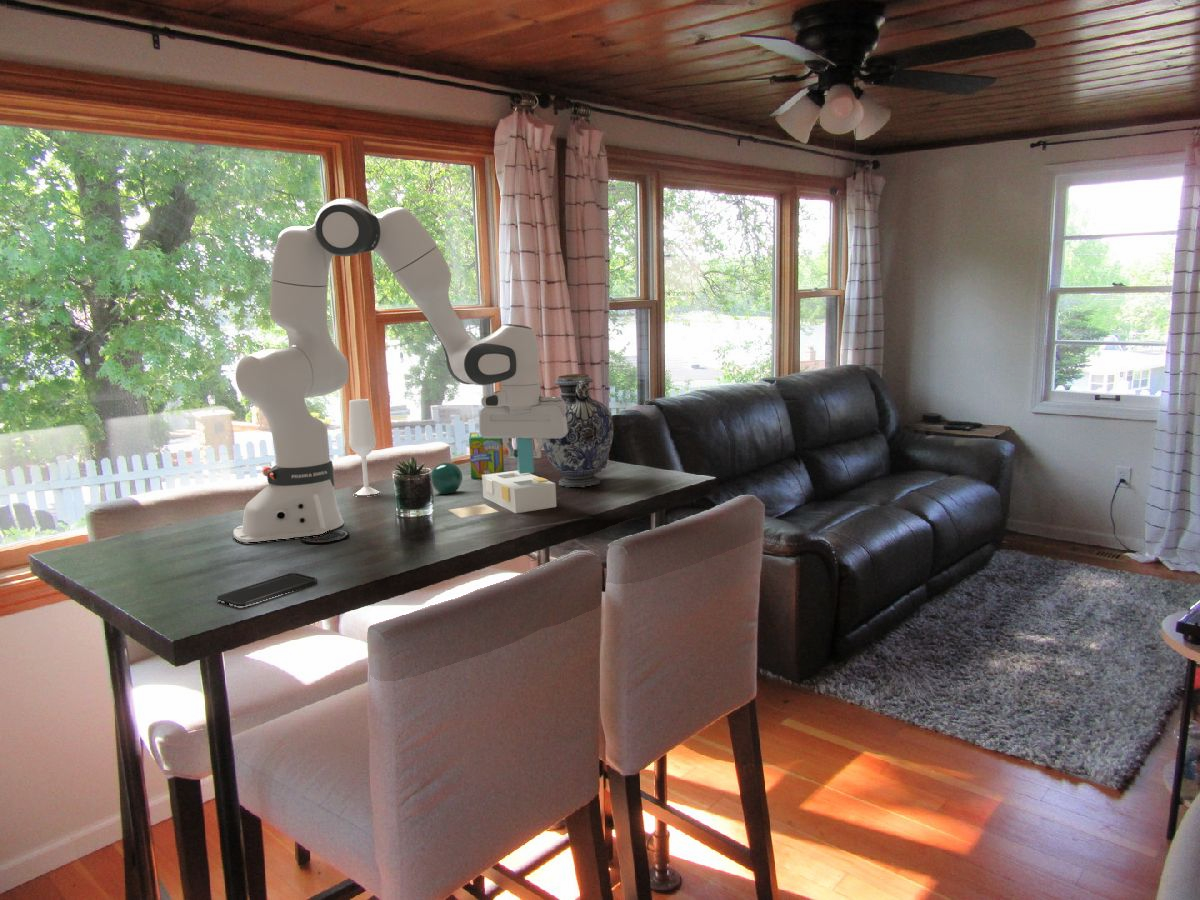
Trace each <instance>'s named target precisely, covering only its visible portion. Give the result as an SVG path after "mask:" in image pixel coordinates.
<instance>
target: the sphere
mask: <svg viewBox="0 0 1200 900" xmlns="http://www.w3.org/2000/svg"><path fill="white" fill-rule="evenodd" d="M430 476H431V478H432V485H431V486H432V488H433V489H434V490H435V491H436V492H438V493H440V494H442V495H450V494H453V493H455V492H457V491H458V490H459V489H460V488H461V486H462V483H463V473H462V471H461V469H460V467H459V466H458V465H456V464H455V463H453V462H451V461H450V462H449V461H444V462H440V463H438V464H437V465H435V466H434V467H433V468H432V470H431V472H430Z"/></svg>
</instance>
